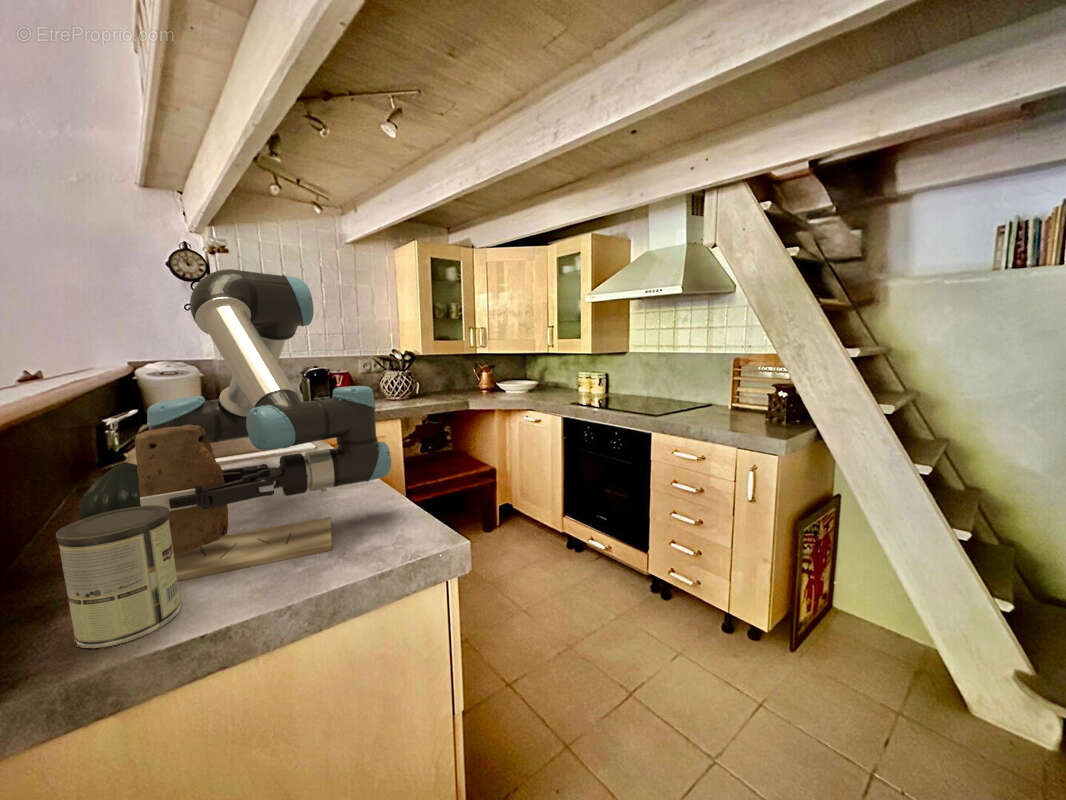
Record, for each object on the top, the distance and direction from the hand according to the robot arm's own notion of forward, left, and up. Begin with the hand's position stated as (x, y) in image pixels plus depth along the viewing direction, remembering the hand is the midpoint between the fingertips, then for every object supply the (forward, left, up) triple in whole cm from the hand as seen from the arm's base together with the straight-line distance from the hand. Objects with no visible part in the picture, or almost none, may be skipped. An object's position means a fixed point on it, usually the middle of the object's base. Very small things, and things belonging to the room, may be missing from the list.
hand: (145, 498), depth 68 cm
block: (-1, +5, -9) cm, 10 cm away
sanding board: (-1, +12, -12) cm, 17 cm away
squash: (-19, -8, -12) cm, 24 cm away
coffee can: (+16, +2, -12) cm, 20 cm away
